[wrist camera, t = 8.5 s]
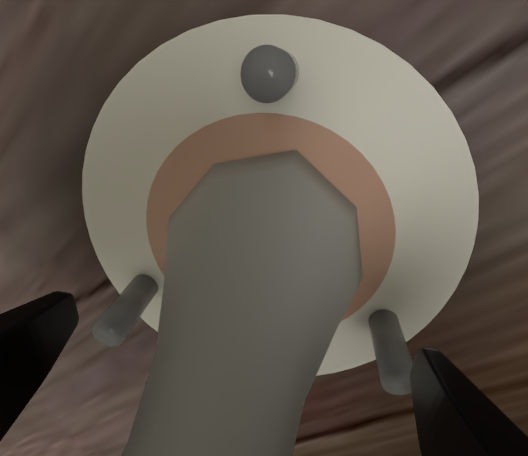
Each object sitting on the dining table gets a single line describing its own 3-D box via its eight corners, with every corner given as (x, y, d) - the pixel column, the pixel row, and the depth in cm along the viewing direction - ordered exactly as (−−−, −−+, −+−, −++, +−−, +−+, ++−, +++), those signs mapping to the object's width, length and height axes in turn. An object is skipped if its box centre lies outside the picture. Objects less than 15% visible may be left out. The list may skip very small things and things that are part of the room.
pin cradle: (405, 382, 16) (430, 470, 13) (121, 335, 18) (72, 402, 14) (542, 35, 10) (677, 19, 6) (63, 3, 11) (-57, -26, 7)
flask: (237, 335, 15) (125, 724, 6) (140, 204, 13) (-265, 528, 4) (393, 282, 13) (575, 791, 4) (309, 108, 10) (270, 379, 1)
